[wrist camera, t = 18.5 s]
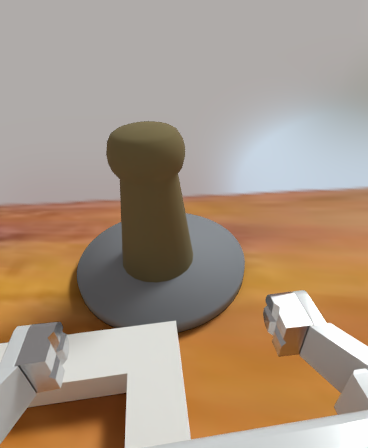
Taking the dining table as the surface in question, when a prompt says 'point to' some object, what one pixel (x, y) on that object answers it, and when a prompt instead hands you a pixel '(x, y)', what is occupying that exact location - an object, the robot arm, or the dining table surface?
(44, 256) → the dining table surface
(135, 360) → the white square frame
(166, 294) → the charcoal mat
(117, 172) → the olive pawn
